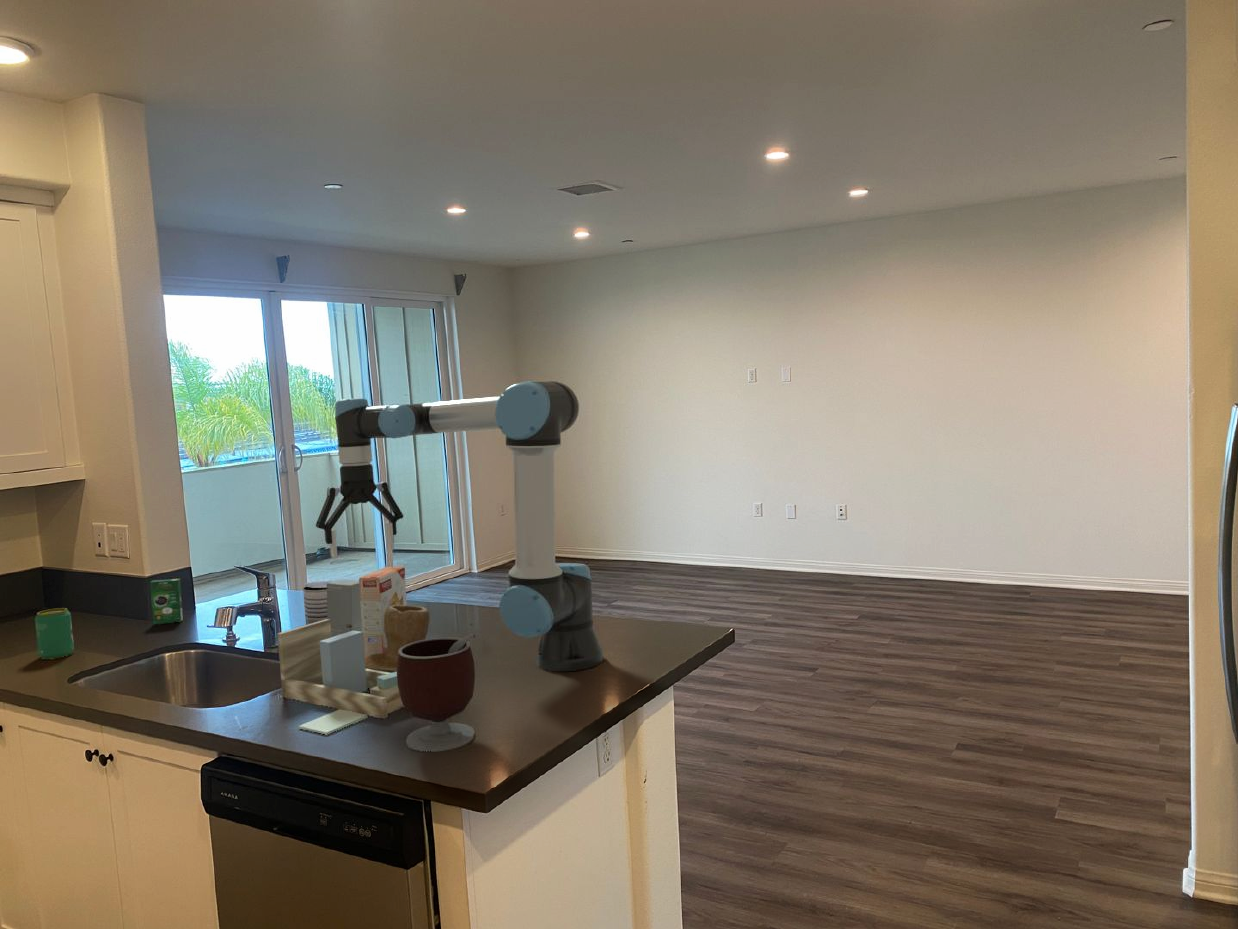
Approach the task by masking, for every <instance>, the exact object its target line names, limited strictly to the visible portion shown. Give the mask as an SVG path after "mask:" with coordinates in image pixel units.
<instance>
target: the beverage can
mask: <svg viewBox="0 0 1238 929" xmlns="http://www.w3.org/2000/svg"><path fill="white" fill-rule="evenodd" d="M34 623H35V632H36V634H35V635H36V640H37V641H36V642H37V650H38V656H39V657H40V659H41V658H44V659H50V658H57V657H62V656H66V657H69V656H71V655H73V652H74V650H75V646H74V645H75V644H74V635H73V634H74V632H73V626H72V615H71V612H70V611H69V610H68V608H67V607H60V608H59V607H57V608H50V609H46V610H41V611H39V612H37V613H36V616H35V618H34ZM70 654H71V655H70ZM68 655H69V656H68Z"/></svg>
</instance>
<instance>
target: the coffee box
mask: <svg viewBox="0 0 1238 929" xmlns="http://www.w3.org/2000/svg"><path fill="white" fill-rule="evenodd" d="M149 585H150V597H151V599H150V600H151V612H152V625H153V626H155V625H156V624H157V625H164V624H165V625H166V623H167V624H175V623H174V622H179V623H182V622H183V621H184V618H183V603H182V602H183V601H182V600H183V599H182V587H181V578H172V579H156V580H155V579H154V580H151V581H150V583H149ZM182 620H183V621H182Z"/></svg>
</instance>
